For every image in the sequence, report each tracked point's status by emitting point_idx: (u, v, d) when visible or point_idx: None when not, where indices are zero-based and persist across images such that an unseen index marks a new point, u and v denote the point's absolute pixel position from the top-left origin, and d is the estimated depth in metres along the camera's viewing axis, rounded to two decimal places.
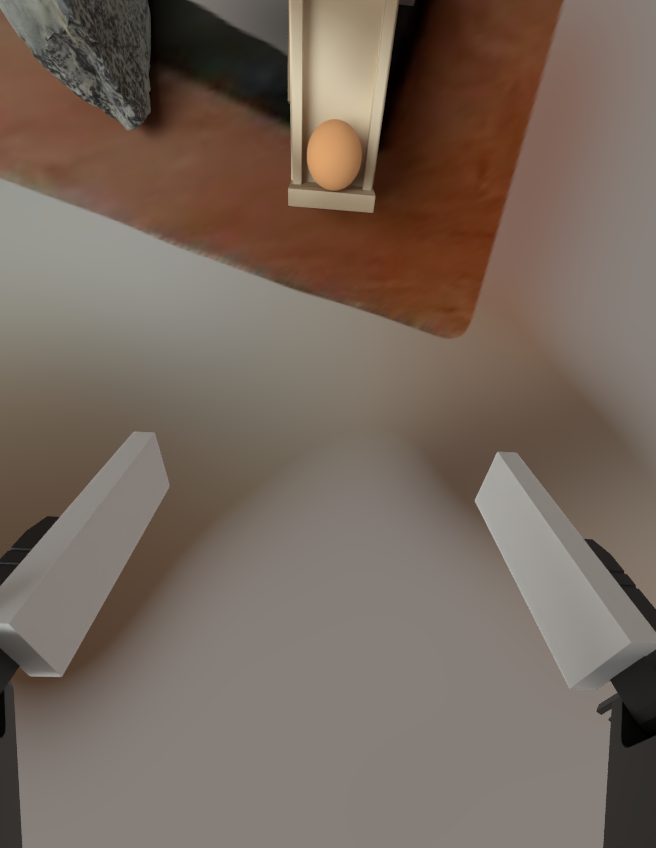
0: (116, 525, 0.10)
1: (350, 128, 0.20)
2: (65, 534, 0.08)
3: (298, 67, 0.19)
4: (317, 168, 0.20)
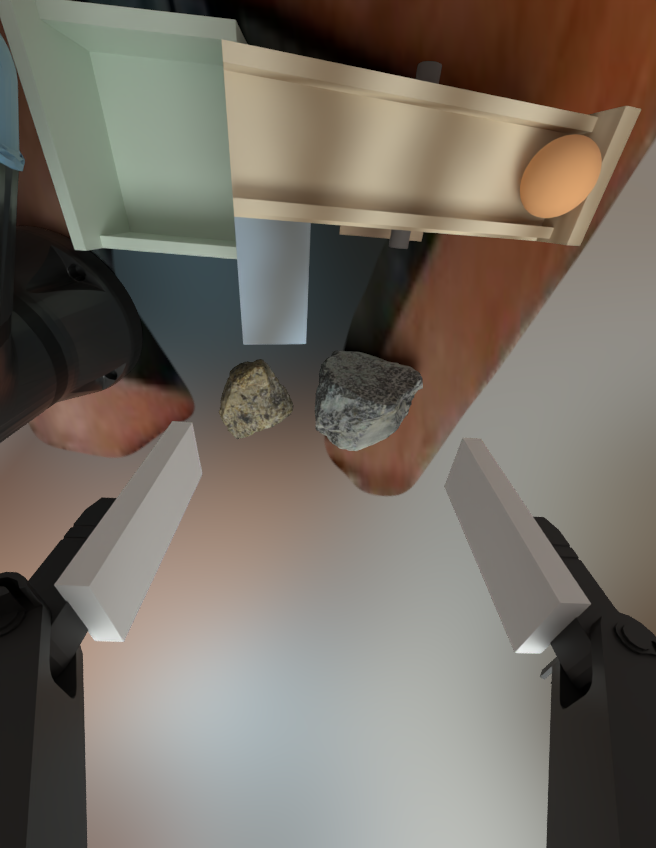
0: (163, 506, 0.10)
1: (550, 153, 0.16)
2: (125, 511, 0.09)
3: (475, 224, 0.19)
4: (576, 202, 0.17)
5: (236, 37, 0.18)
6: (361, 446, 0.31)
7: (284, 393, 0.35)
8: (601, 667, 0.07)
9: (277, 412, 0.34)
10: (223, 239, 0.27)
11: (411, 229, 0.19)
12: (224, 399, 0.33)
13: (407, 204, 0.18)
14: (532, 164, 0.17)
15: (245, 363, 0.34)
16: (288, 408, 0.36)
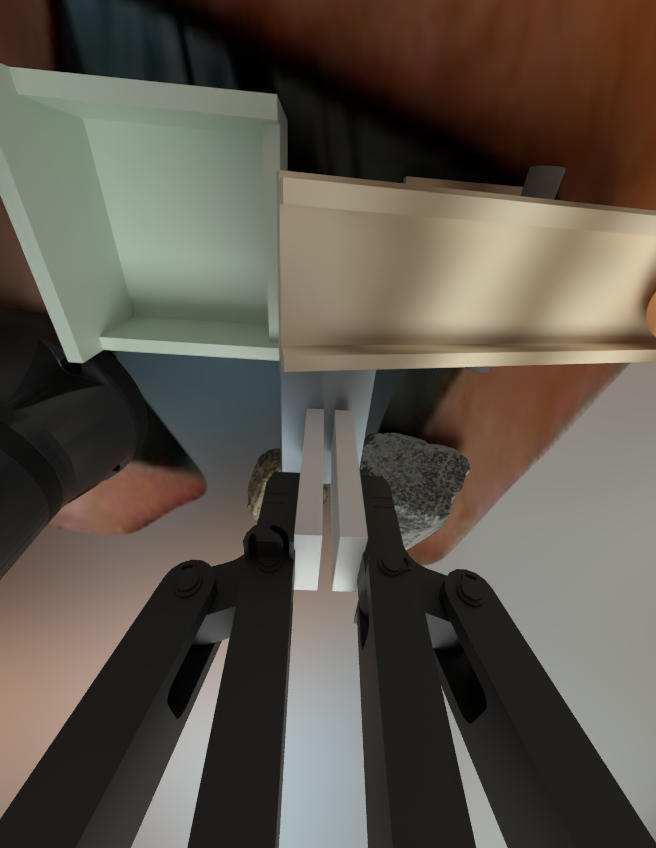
0: None
1: None
2: (314, 480, 0.10)
3: (586, 355, 0.14)
4: None
5: (276, 115, 0.14)
6: None
7: None
8: (370, 605, 0.07)
9: None
10: (245, 323, 0.23)
11: None
12: (254, 495, 0.29)
13: (501, 333, 0.14)
14: None
15: (275, 451, 0.30)
16: (324, 496, 0.32)
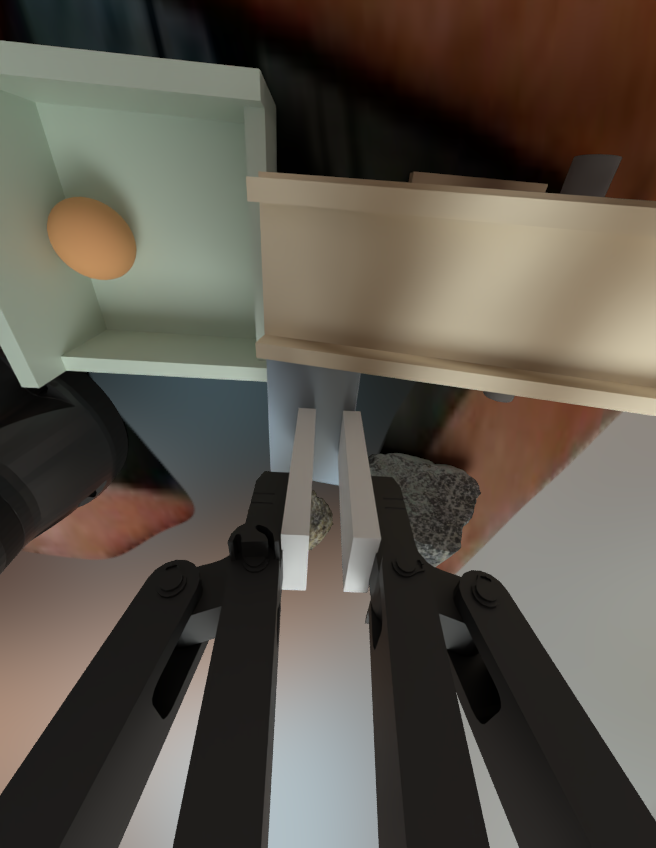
0: None
1: (123, 222, 0.16)
2: (303, 480, 0.10)
3: (640, 403, 0.11)
4: None
5: (260, 95, 0.12)
6: None
7: (323, 507, 0.29)
8: (384, 605, 0.07)
9: (317, 533, 0.28)
10: (231, 337, 0.21)
11: None
12: None
13: (514, 356, 0.12)
14: (119, 233, 0.15)
15: None
16: (329, 523, 0.30)
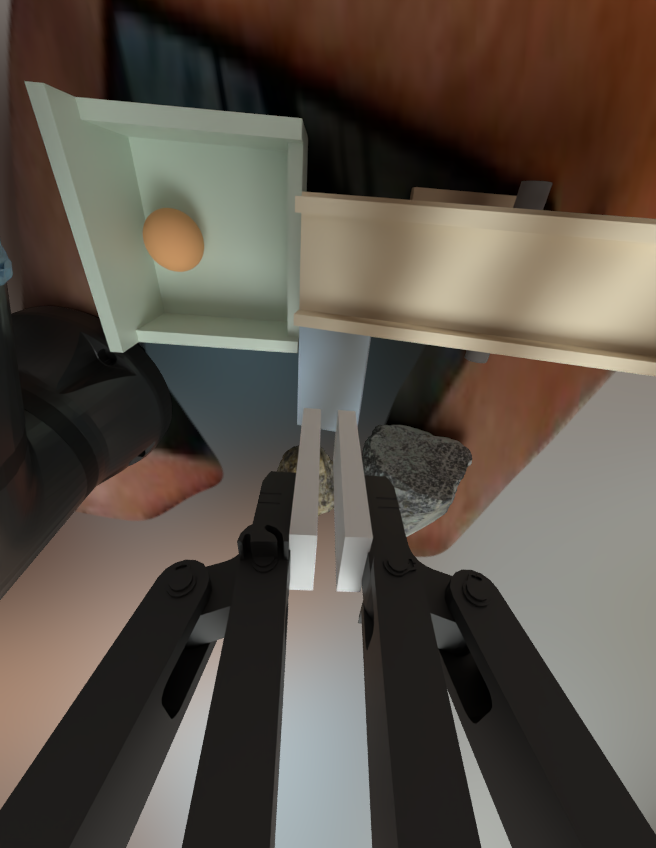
0: None
1: None
2: (310, 480, 0.10)
3: (572, 356, 0.15)
4: None
5: (301, 135, 0.16)
6: (409, 534, 0.28)
7: None
8: (376, 605, 0.07)
9: None
10: (264, 320, 0.25)
11: None
12: None
13: (483, 324, 0.16)
14: (200, 235, 0.21)
15: None
16: None
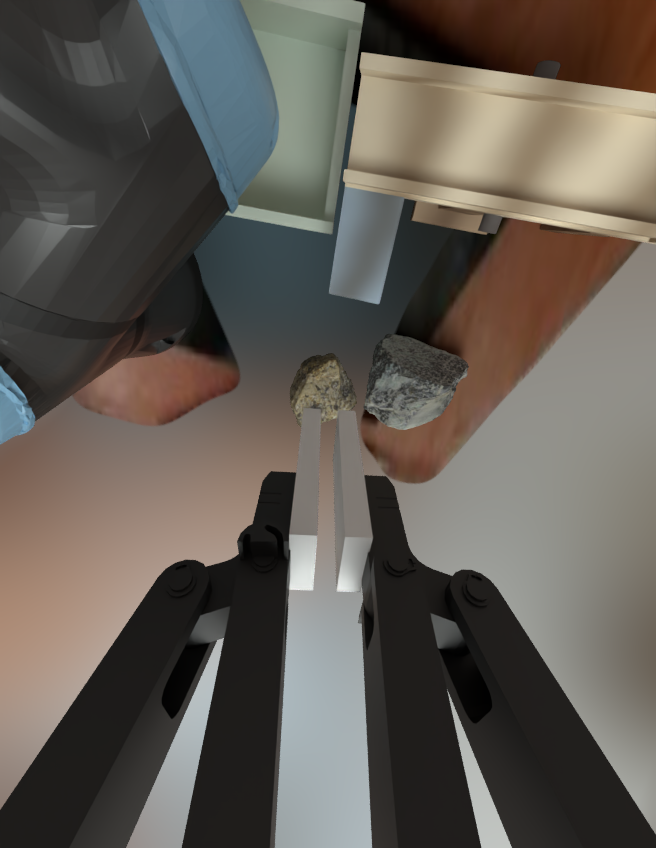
0: None
1: None
2: (310, 480, 0.10)
3: (565, 213, 0.19)
4: None
5: (362, 20, 0.20)
6: (410, 425, 0.32)
7: (351, 386, 0.37)
8: (376, 605, 0.07)
9: (345, 403, 0.36)
10: (300, 214, 0.28)
11: (498, 213, 0.20)
12: (298, 389, 0.35)
13: (497, 188, 0.20)
14: None
15: (317, 356, 0.36)
16: (354, 400, 0.38)
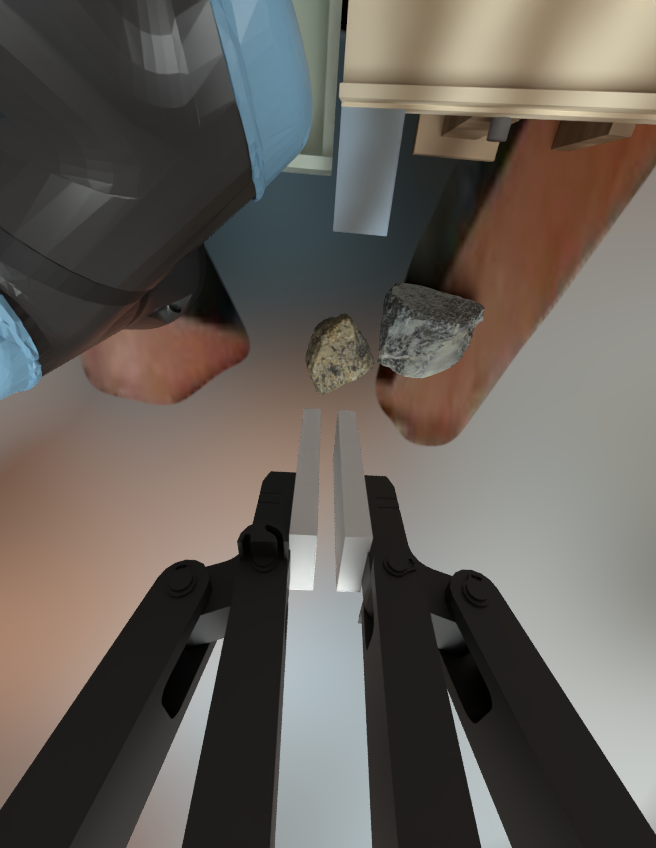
0: None
1: None
2: (310, 480, 0.10)
3: (582, 96, 0.17)
4: None
5: None
6: (427, 373, 0.31)
7: (367, 346, 0.36)
8: (376, 605, 0.07)
9: (363, 363, 0.36)
10: None
11: (507, 111, 0.19)
12: (314, 353, 0.35)
13: (505, 83, 0.18)
14: None
15: (330, 318, 0.35)
16: (371, 361, 0.37)
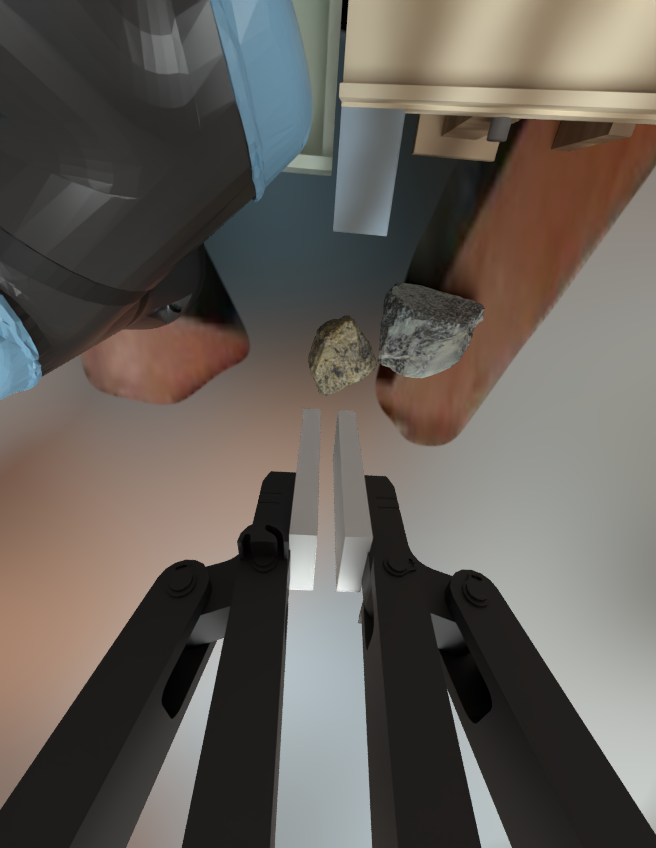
0: None
1: None
2: (310, 480, 0.10)
3: (582, 96, 0.17)
4: None
5: None
6: (427, 373, 0.31)
7: (369, 348, 0.37)
8: (376, 605, 0.07)
9: (365, 365, 0.36)
10: None
11: (507, 111, 0.19)
12: (317, 355, 0.35)
13: (505, 83, 0.18)
14: None
15: (332, 320, 0.36)
16: (374, 362, 0.37)
